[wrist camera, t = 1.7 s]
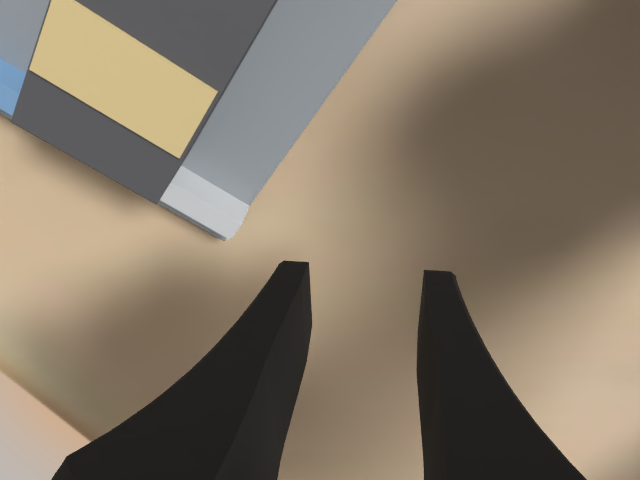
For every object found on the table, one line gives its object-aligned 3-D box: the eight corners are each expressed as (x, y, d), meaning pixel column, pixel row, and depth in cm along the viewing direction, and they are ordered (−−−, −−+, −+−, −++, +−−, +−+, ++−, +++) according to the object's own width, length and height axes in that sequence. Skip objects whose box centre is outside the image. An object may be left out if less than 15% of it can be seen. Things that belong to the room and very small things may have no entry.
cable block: (337, -103, 16) (319, -76, 14) (189, 151, 22) (155, 207, 19) (176, -226, 15) (119, -226, 12) (64, 76, 21) (7, 123, 18)
